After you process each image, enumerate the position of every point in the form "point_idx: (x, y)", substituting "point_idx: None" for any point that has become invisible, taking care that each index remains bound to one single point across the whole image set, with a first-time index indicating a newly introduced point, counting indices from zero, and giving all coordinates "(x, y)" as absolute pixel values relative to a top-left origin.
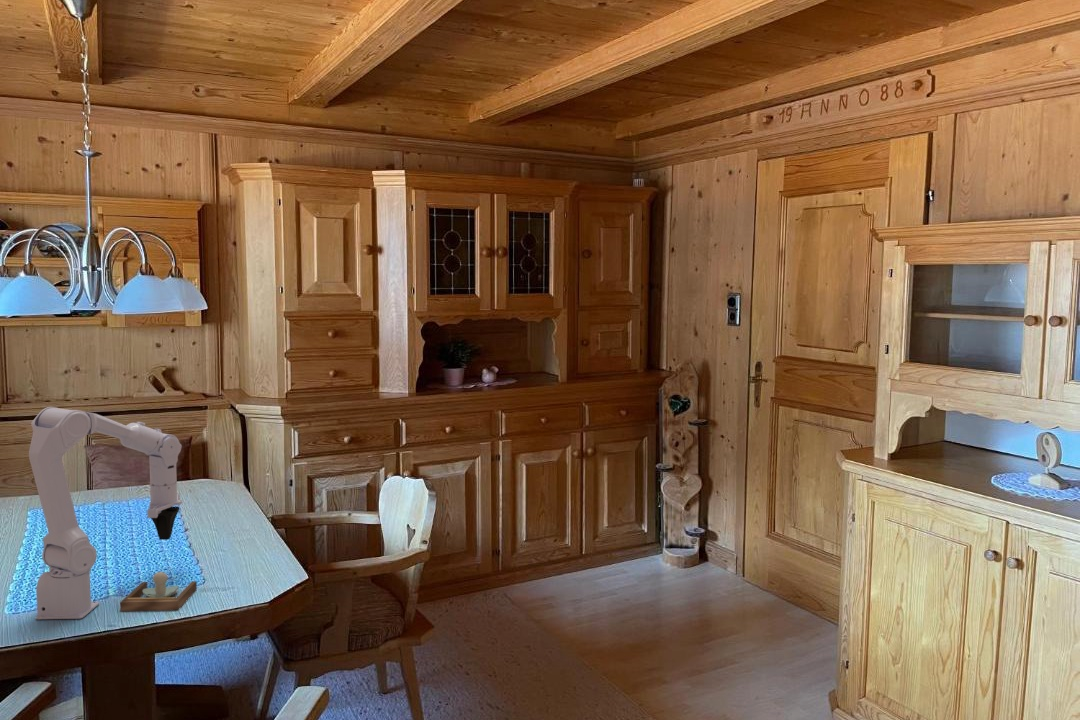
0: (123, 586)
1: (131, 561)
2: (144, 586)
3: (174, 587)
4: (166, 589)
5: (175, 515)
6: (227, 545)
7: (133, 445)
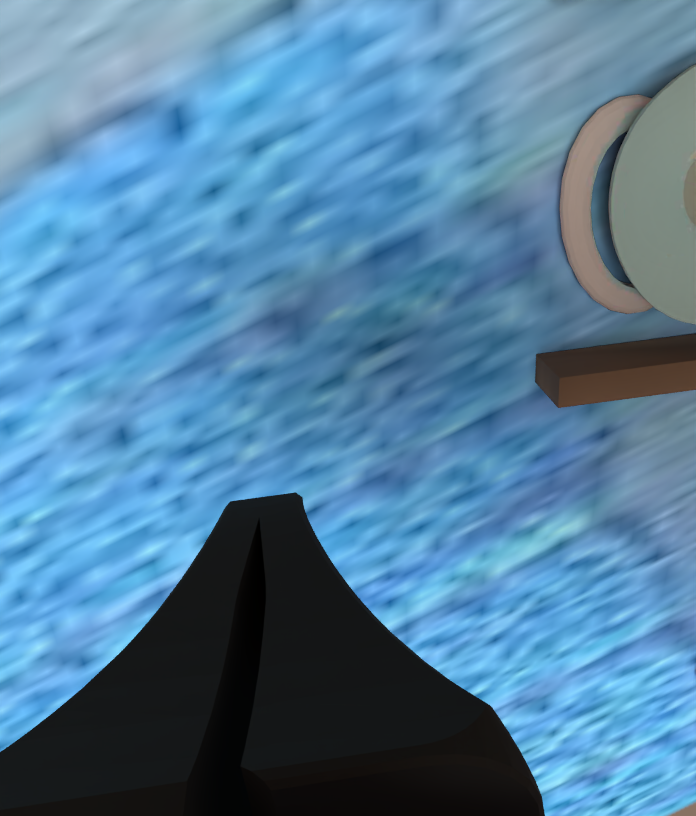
0: (458, 525)
1: (40, 692)
2: (601, 365)
3: (653, 116)
4: (633, 186)
5: (134, 709)
6: None
7: None
